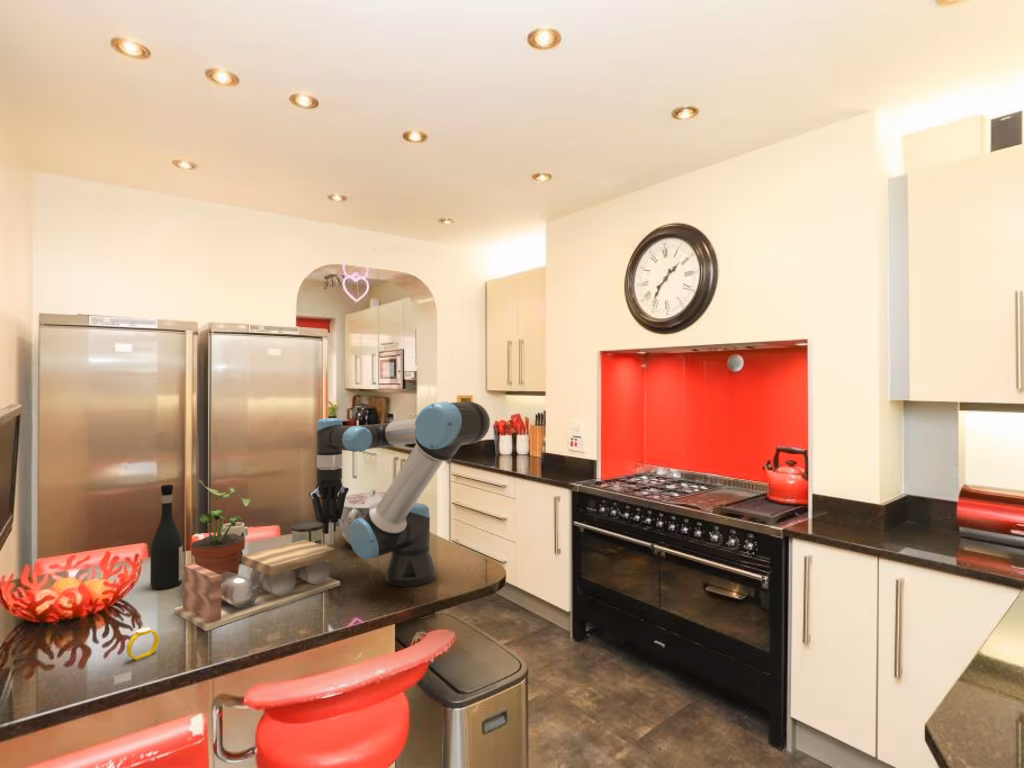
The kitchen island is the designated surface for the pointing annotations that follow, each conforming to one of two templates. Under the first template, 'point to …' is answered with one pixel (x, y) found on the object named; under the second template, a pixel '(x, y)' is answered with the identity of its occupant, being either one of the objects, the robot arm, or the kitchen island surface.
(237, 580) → the loose roller
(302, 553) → the oak slab
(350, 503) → the chamber pot
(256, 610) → the roller bed
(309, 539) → the coffee can
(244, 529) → the character mug
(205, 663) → the kitchen island surface
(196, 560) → the potted plant
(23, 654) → the kitchen island surface
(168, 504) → the wine bottle
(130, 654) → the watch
